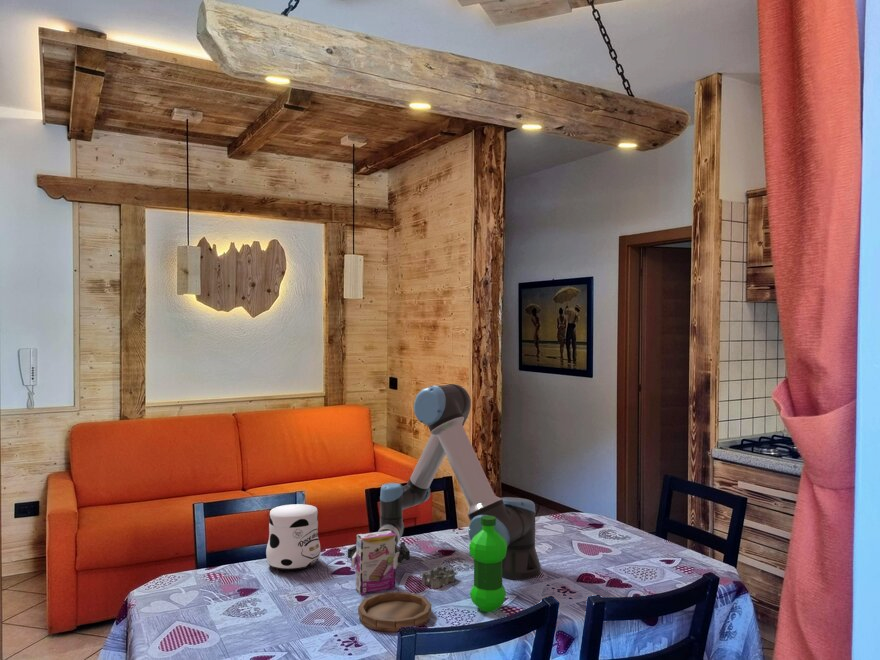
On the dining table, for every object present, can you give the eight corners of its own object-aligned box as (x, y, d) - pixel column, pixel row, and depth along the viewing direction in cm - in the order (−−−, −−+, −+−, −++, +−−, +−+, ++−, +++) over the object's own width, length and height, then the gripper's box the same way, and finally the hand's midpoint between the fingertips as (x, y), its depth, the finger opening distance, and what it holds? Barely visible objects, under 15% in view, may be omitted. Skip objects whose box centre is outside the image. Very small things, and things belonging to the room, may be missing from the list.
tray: (436, 604, 187) (436, 594, 187) (422, 635, 168) (422, 623, 168) (370, 599, 190) (370, 589, 190) (349, 628, 171) (350, 617, 171)
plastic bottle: (479, 597, 192) (479, 510, 192) (513, 605, 186) (513, 516, 186) (462, 610, 183) (463, 519, 183) (497, 618, 178) (497, 524, 178)
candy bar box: (360, 595, 193) (361, 539, 193) (355, 589, 197) (355, 534, 197) (396, 589, 198) (396, 533, 198) (390, 583, 202) (390, 529, 202)
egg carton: (434, 591, 198) (434, 577, 198) (417, 584, 203) (417, 570, 203) (459, 581, 205) (459, 568, 205) (442, 574, 210) (442, 561, 210)
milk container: (321, 572, 211) (321, 515, 211) (265, 576, 208) (265, 518, 208) (319, 554, 228) (319, 502, 228) (267, 558, 225) (267, 504, 225)
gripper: (423, 553, 214) (414, 577, 193) (349, 550, 217) (333, 574, 195) (423, 529, 214) (414, 551, 193) (349, 527, 217) (333, 549, 195)
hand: (373, 563), depth 194 cm, fingers closed on candy bar box, 12 cm apart
